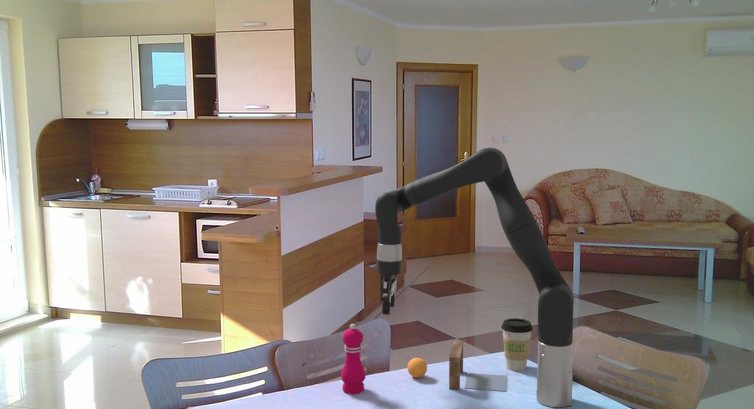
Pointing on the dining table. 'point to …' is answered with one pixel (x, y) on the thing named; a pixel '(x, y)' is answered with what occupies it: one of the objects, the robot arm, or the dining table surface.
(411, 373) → the ball
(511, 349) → the coffee cup
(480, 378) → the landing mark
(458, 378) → the bridge
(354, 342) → the pepper mill
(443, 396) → the dining table surface
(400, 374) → the dining table surface
